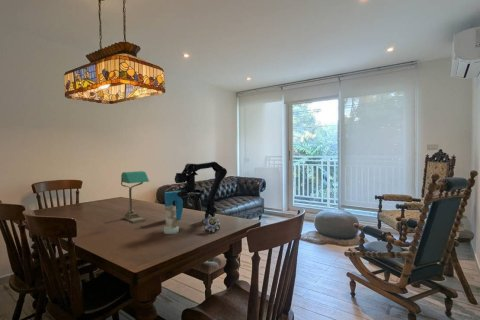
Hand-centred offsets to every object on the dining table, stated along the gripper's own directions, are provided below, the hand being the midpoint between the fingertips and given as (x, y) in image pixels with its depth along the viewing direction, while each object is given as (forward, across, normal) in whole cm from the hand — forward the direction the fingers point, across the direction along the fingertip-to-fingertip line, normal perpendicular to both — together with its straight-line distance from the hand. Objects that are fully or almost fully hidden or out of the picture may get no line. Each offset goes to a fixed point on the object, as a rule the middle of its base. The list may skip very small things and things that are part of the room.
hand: (191, 205), depth 182 cm
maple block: (+10, +18, +3) cm, 21 cm away
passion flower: (+13, +1, +21) cm, 25 cm away
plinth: (+13, +18, +3) cm, 23 cm away
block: (+13, -1, -20) cm, 24 cm away
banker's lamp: (+13, +18, -43) cm, 48 cm away
